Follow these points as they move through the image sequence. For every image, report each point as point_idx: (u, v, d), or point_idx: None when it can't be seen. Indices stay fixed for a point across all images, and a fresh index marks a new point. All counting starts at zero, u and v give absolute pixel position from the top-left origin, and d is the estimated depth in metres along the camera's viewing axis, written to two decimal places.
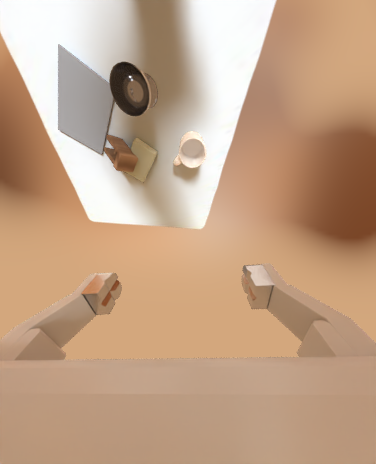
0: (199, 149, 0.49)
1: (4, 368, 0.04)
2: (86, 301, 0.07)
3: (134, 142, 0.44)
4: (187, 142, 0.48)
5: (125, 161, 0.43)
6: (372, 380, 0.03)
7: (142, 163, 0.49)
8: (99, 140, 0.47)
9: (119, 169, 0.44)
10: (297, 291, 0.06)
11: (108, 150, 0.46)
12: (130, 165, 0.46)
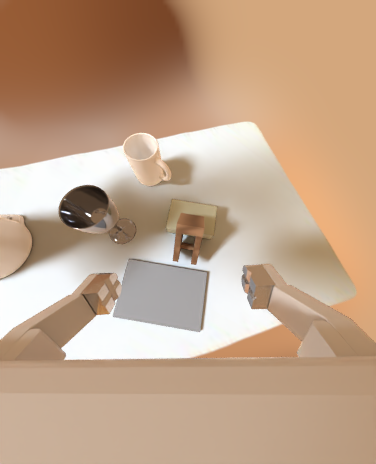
0: None
1: (4, 368, 0.04)
2: (86, 301, 0.07)
3: (167, 226, 0.34)
4: None
5: (187, 221, 0.28)
6: (372, 380, 0.03)
7: (190, 213, 0.35)
8: (189, 274, 0.34)
9: (202, 226, 0.27)
10: (297, 290, 0.06)
11: (192, 257, 0.32)
12: (192, 218, 0.30)
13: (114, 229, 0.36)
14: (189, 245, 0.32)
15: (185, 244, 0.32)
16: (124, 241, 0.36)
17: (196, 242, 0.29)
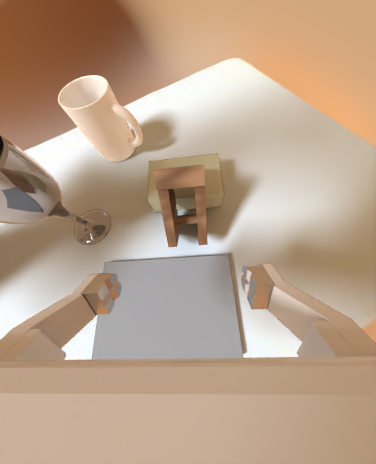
0: None
1: (4, 368, 0.04)
2: (86, 301, 0.07)
3: (150, 198, 0.22)
4: None
5: (172, 168, 0.16)
6: (372, 380, 0.03)
7: None
8: (201, 264, 0.21)
9: (200, 165, 0.15)
10: (297, 291, 0.06)
11: None
12: None
13: (80, 226, 0.25)
14: (189, 216, 0.20)
15: (182, 216, 0.20)
16: (96, 239, 0.24)
17: (197, 201, 0.16)
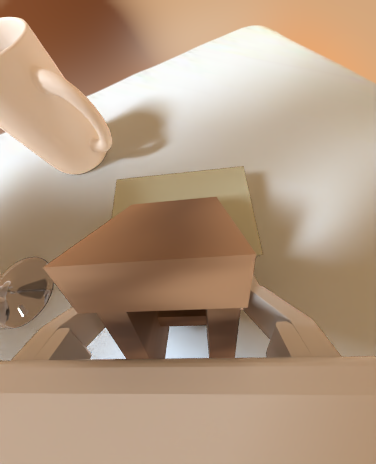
0: None
1: (4, 368, 0.04)
2: None
3: None
4: None
5: (138, 228, 0.05)
6: (372, 380, 0.03)
7: None
8: None
9: (232, 236, 0.04)
10: (269, 292, 0.06)
11: None
12: (170, 210, 0.07)
13: None
14: (189, 311, 0.09)
15: (174, 310, 0.09)
16: (23, 319, 0.14)
17: (214, 325, 0.06)
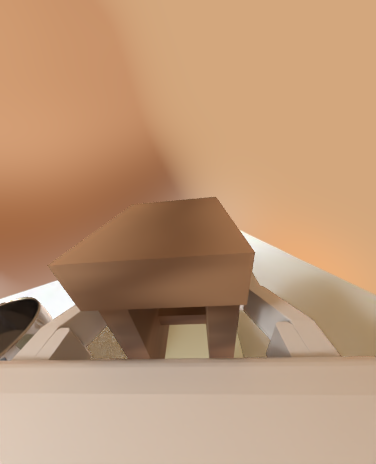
0: None
1: (4, 368, 0.04)
2: None
3: None
4: None
5: (139, 228, 0.05)
6: (372, 380, 0.03)
7: (192, 324, 0.21)
8: None
9: (231, 235, 0.04)
10: (269, 292, 0.06)
11: (209, 357, 0.08)
12: (171, 210, 0.07)
13: None
14: (189, 310, 0.09)
15: (174, 309, 0.09)
16: None
17: (214, 323, 0.06)
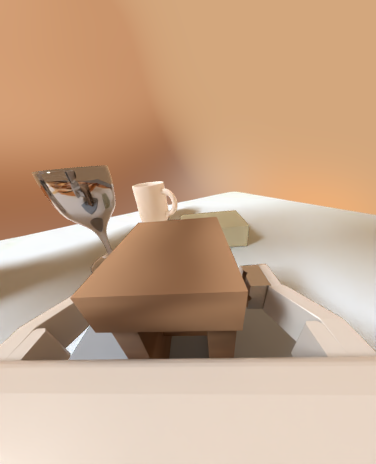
0: None
1: (4, 368, 0.04)
2: None
3: None
4: None
5: (146, 255, 0.06)
6: (372, 380, 0.03)
7: None
8: None
9: (229, 270, 0.05)
10: (292, 291, 0.06)
11: None
12: (174, 233, 0.08)
13: (101, 259, 0.24)
14: None
15: None
16: None
17: (213, 341, 0.06)
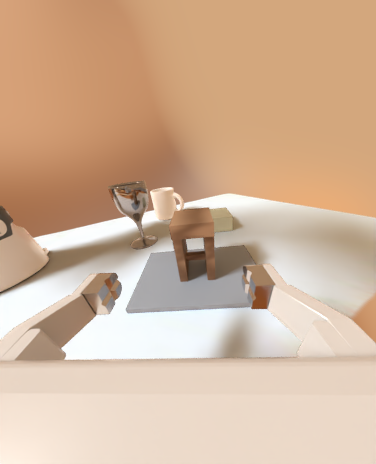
0: None
1: (4, 368, 0.04)
2: (86, 301, 0.07)
3: None
4: None
5: (184, 218, 0.18)
6: (372, 380, 0.03)
7: None
8: (224, 250, 0.28)
9: (210, 219, 0.17)
10: (297, 291, 0.06)
11: None
12: (192, 213, 0.20)
13: (136, 240, 0.37)
14: (198, 253, 0.22)
15: (192, 253, 0.22)
16: (146, 246, 0.34)
17: (207, 247, 0.19)
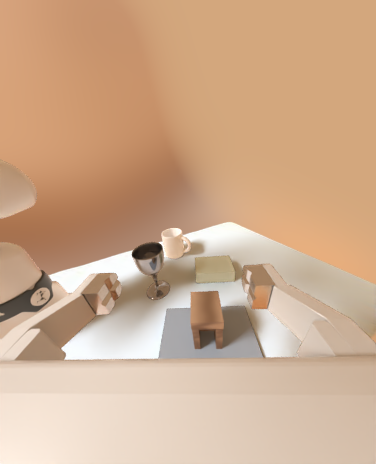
0: None
1: (4, 368, 0.04)
2: (86, 301, 0.07)
3: (196, 272, 0.42)
4: None
5: (201, 310, 0.24)
6: (372, 380, 0.03)
7: (211, 262, 0.46)
8: (228, 311, 0.34)
9: (220, 316, 0.23)
10: (297, 291, 0.06)
11: (215, 341, 0.27)
12: (205, 300, 0.26)
13: (151, 288, 0.43)
14: None
15: None
16: (160, 296, 0.40)
17: (217, 331, 0.25)
